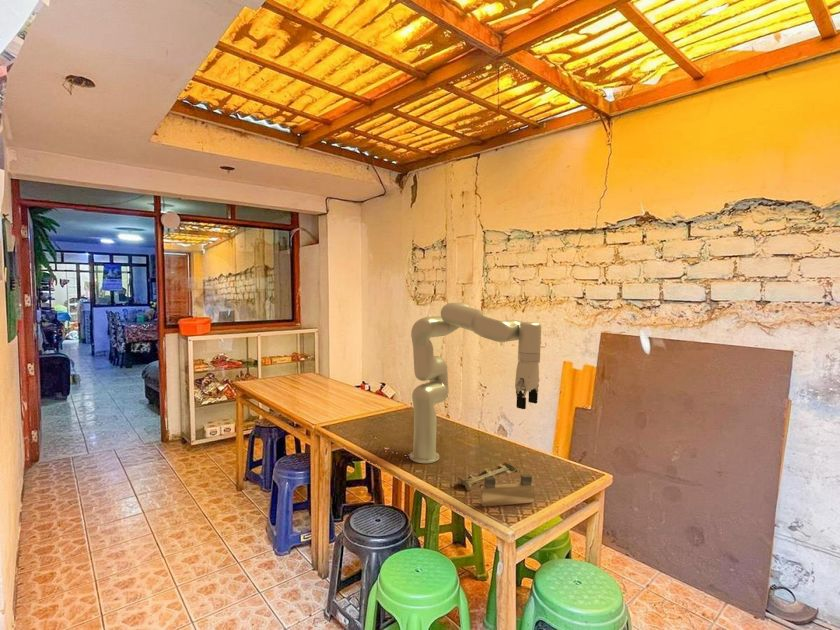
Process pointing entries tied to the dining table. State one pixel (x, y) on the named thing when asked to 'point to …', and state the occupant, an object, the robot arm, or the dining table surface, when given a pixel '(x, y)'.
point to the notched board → (507, 492)
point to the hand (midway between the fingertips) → (527, 405)
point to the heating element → (486, 475)
